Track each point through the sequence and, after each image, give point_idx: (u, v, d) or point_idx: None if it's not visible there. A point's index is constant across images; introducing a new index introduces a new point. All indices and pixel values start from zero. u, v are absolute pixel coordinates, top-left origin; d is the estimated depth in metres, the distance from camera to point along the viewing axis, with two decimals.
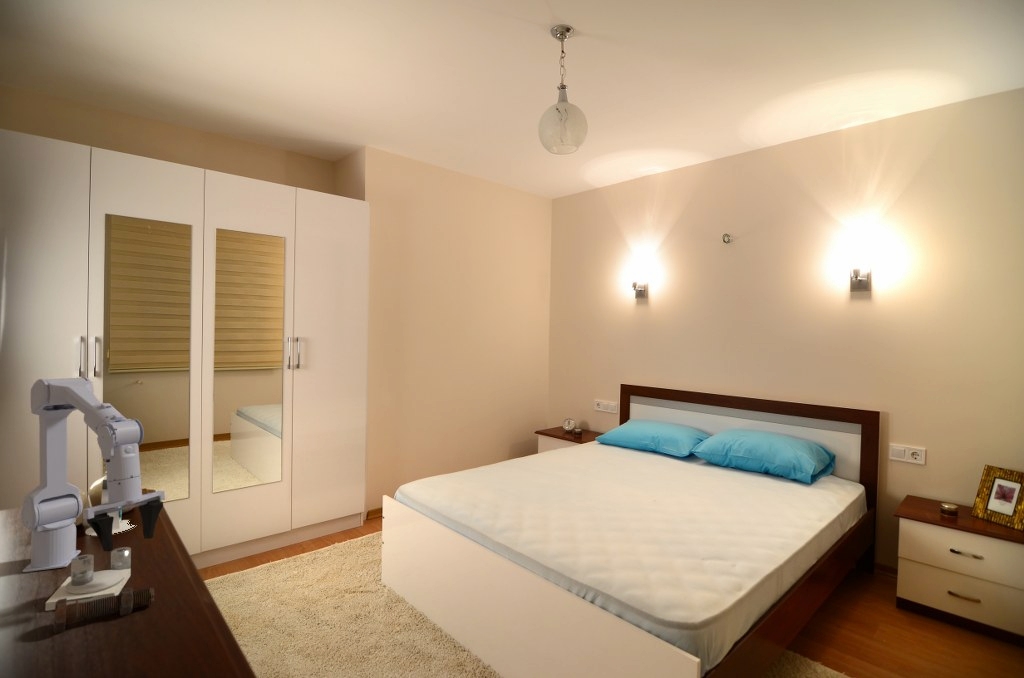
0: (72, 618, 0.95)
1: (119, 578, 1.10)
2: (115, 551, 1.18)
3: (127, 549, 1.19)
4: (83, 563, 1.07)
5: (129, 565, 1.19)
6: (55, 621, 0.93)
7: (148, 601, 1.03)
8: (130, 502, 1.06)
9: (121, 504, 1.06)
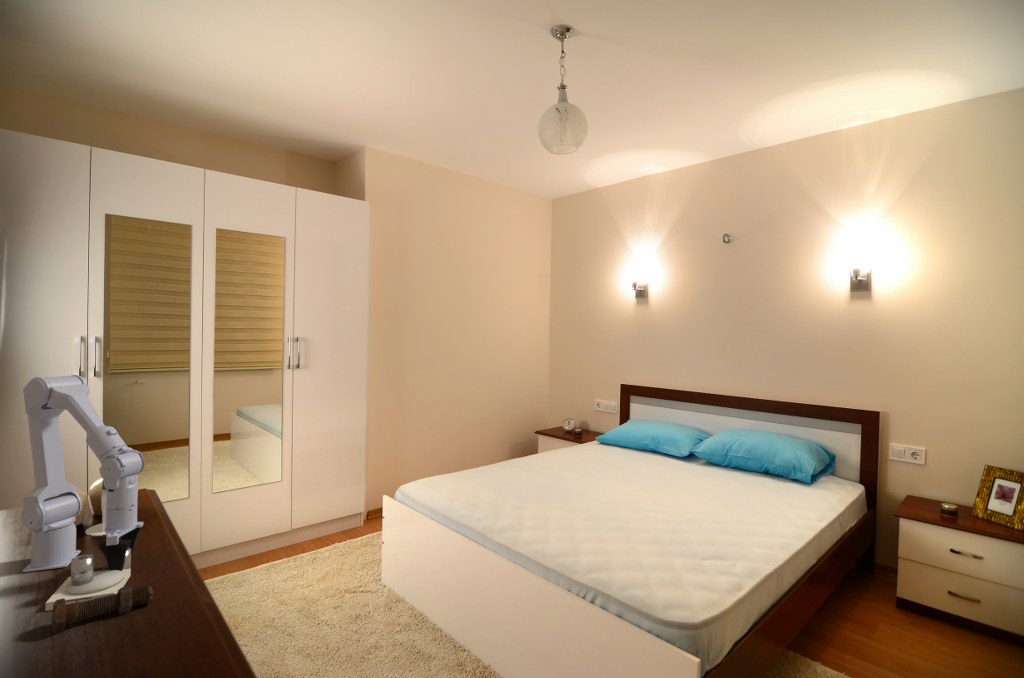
0: (72, 617, 0.96)
1: (119, 578, 1.10)
2: None
3: (127, 549, 1.19)
4: (83, 563, 1.07)
5: (129, 565, 1.19)
6: (55, 621, 0.93)
7: (147, 599, 1.04)
8: (139, 526, 1.19)
9: (132, 528, 1.18)
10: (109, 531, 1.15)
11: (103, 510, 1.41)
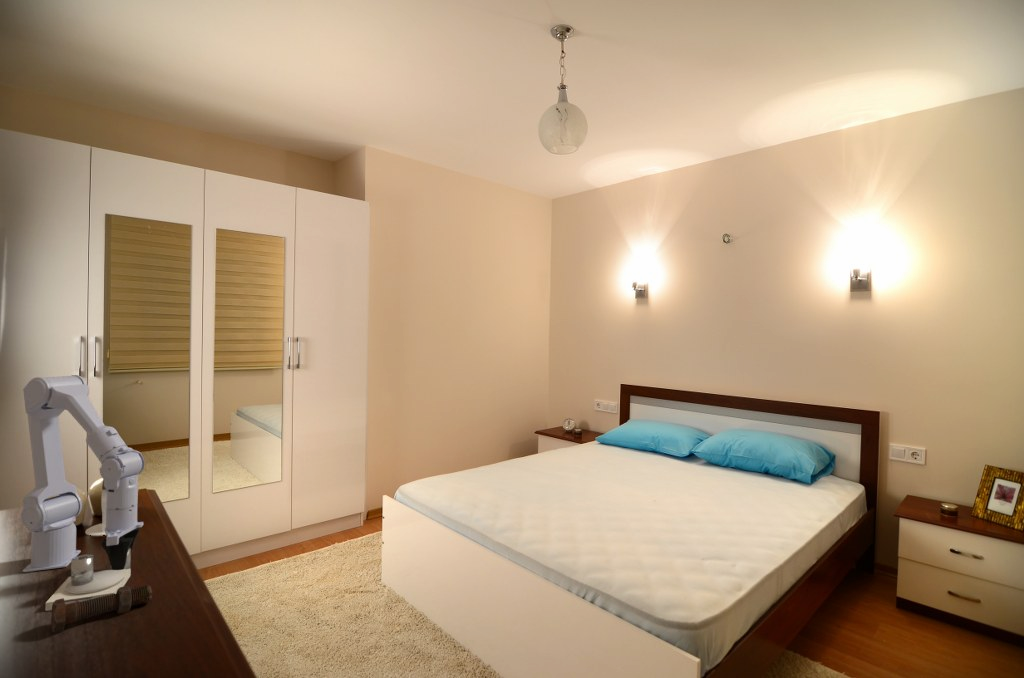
0: (72, 617, 0.96)
1: (119, 578, 1.10)
2: None
3: None
4: (83, 563, 1.07)
5: (129, 565, 1.19)
6: (55, 621, 0.93)
7: (146, 598, 1.04)
8: (139, 526, 1.19)
9: (132, 529, 1.18)
10: (109, 531, 1.16)
11: (103, 510, 1.41)
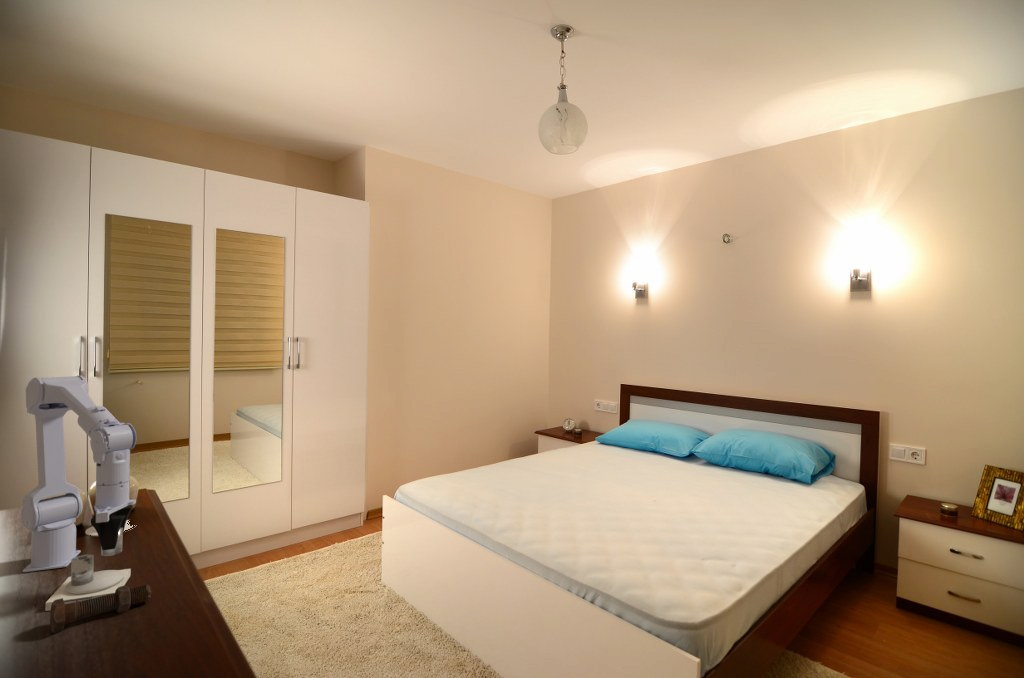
0: (71, 617, 0.96)
1: (119, 578, 1.10)
2: None
3: None
4: (83, 563, 1.07)
5: (121, 545, 1.12)
6: (55, 620, 0.93)
7: (145, 598, 1.04)
8: (131, 503, 1.12)
9: (124, 506, 1.10)
10: (99, 508, 1.08)
11: None
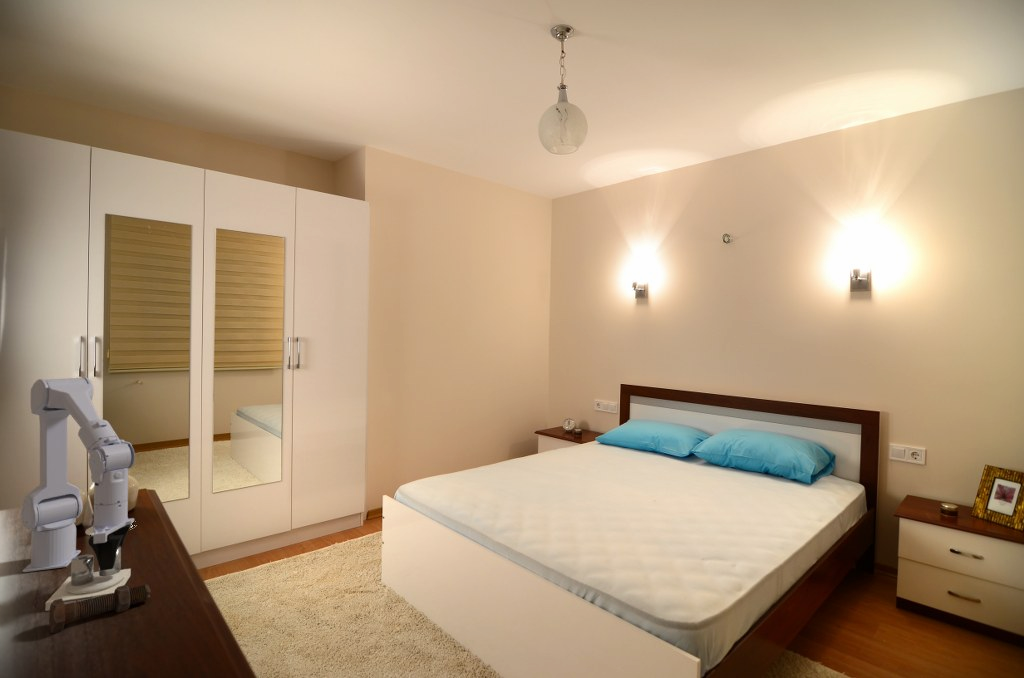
0: (71, 617, 0.96)
1: (119, 578, 1.10)
2: None
3: None
4: (83, 563, 1.07)
5: (119, 565, 1.11)
6: (54, 621, 0.93)
7: (144, 597, 1.04)
8: (130, 523, 1.11)
9: (122, 525, 1.10)
10: (97, 528, 1.07)
11: None
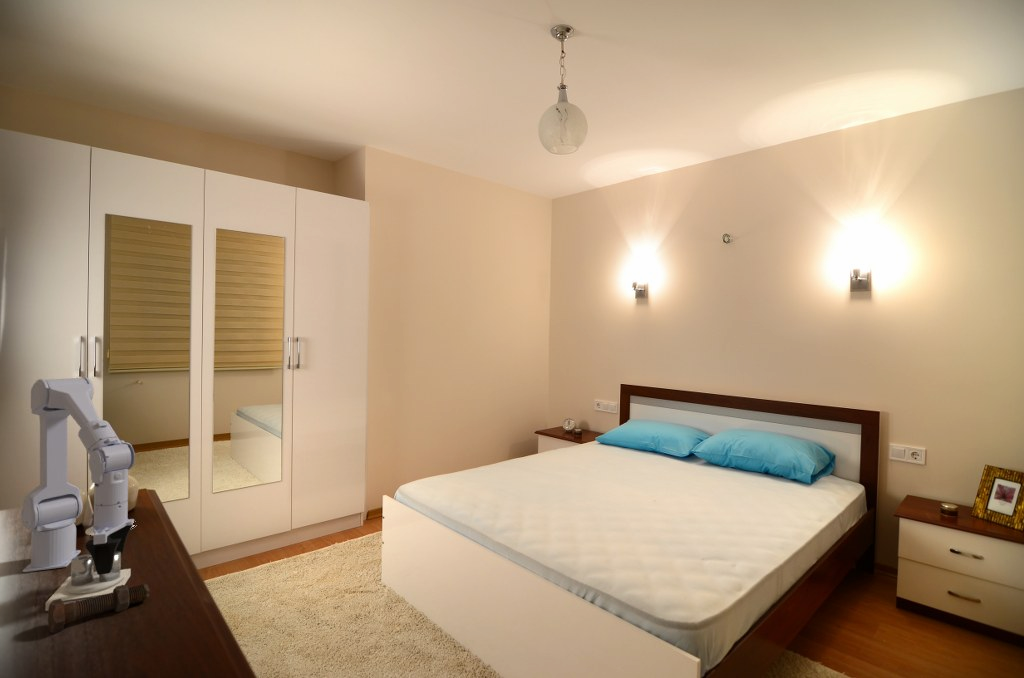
0: (70, 617, 0.96)
1: (119, 578, 1.10)
2: None
3: (117, 553, 1.11)
4: (83, 563, 1.07)
5: (119, 570, 1.11)
6: (54, 621, 0.93)
7: (144, 597, 1.05)
8: (130, 523, 1.11)
9: (122, 526, 1.10)
10: (97, 529, 1.07)
11: None
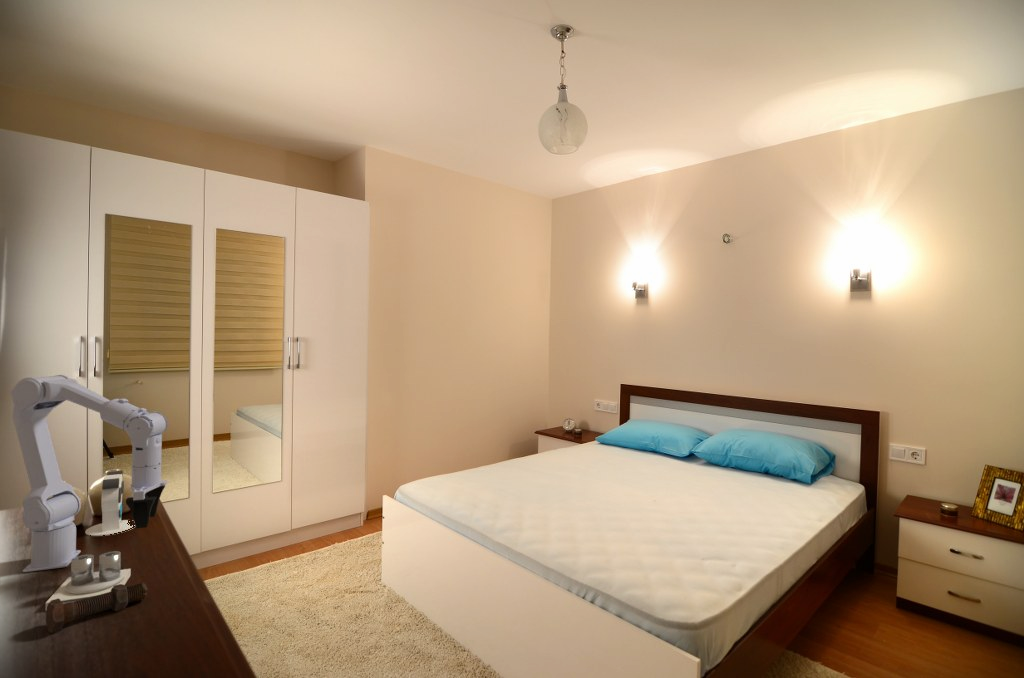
0: (69, 616, 0.96)
1: (119, 578, 1.10)
2: (103, 555, 1.10)
3: (117, 553, 1.11)
4: (83, 563, 1.07)
5: (119, 570, 1.11)
6: (54, 620, 0.93)
7: (142, 595, 1.05)
8: (163, 484, 1.24)
9: (157, 486, 1.22)
10: (135, 488, 1.20)
11: (103, 510, 1.41)
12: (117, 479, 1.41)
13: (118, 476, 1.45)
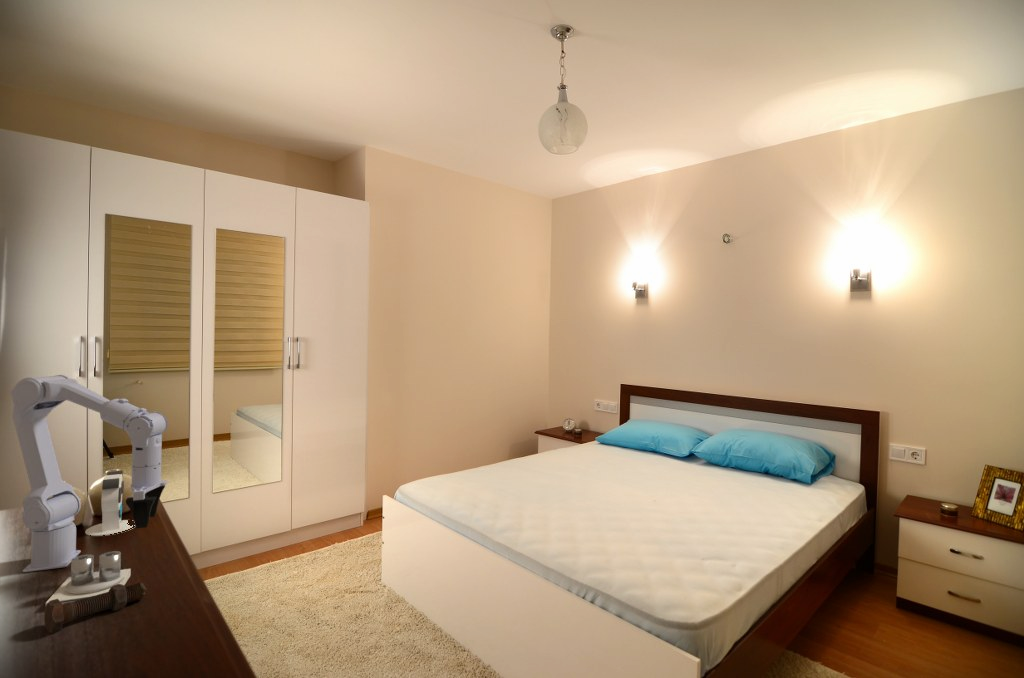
0: (69, 617, 0.96)
1: (119, 578, 1.10)
2: (104, 555, 1.10)
3: (117, 553, 1.11)
4: (83, 563, 1.07)
5: (119, 570, 1.11)
6: (53, 620, 0.93)
7: (140, 595, 1.05)
8: (163, 484, 1.24)
9: (157, 486, 1.22)
10: (135, 488, 1.20)
11: (103, 510, 1.41)
12: (117, 479, 1.41)
13: (118, 476, 1.45)
